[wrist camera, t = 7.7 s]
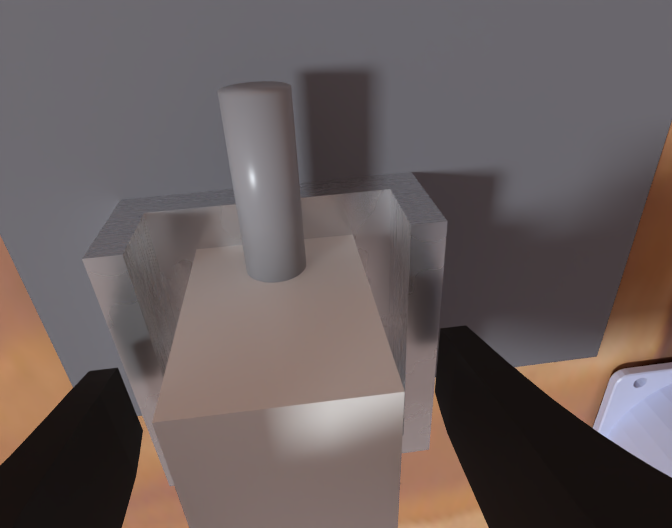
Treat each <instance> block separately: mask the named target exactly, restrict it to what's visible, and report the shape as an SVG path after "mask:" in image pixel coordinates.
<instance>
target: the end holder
mask: <svg viewBox="0 0 672 528" xmlns="http://www.w3.org/2000/svg"><path fill="white" fill-rule="evenodd" d="M299 184H300V196H301V208H302V220H303V231H304V239H311V238H321V237H332V236H343V235H353V237H354V240H355V243H356V246H357V249H358V252H359V255H360V258H361V261H362V264H363V267H364V270H365V273H366V276H367V279H368V282H369V285H370V288H371V291H372V294H373V297H374V300H375V303H376V306H377V310H378V313H379V316H380V319H381V322H382V325H383V328H384V331H385V334H386V337H387V340H388V343H389V346H390V349H391V352H392V355H393V358H394V361H395V364H396V367H397V370H398V373H399V376H400V379H401V382H402V385H403V388H404V391H405V395H404V415H403V434H402V453H408V452H415V451H422V450H429V444H430V431H431V419H432V407H433V394H434V382H435V370H436V357H437V345H438V333H439V320H440V308H441V295H442V283H443V271H444V258H445V246H446V234H447V220H446V218H445V217H444V216H443V214H442V213H441V212H440V210H439V209H438V208H437V206H436V205H435V204H434V202H433V201H432V199H431V198H430V197H429V195H428V194H427V193H426V191H425V190H424V189H423V187H422V186H421V184H420V183H419V182H418V180H417V179H416V178H415V176H414V175H413V174H412V172H407V173H397V174H386V175H375V176H365V177H354V178H344V179H333V180H322V181H312V182H301V183H299ZM236 245H242V239H241V233H240V227H239V221H238V215H237V209H236V202H235V196H234V190H233V189H227V190H217V191H206V192H195V193H185V194H174V195H164V196H153V197H142V198H132V199H121V200H120V201H119V203H118V204H117V206H116V207H115V209H114V210H113V212H112V214H111V215H110V217H109V218H108V220H107V221H106V223H105V224H104V226H103V227H102V229H101V230H100V232H99V234H98V235H97V237H96V238H95V240H94V241H93V243H92V244H91V246H90V247H89V249H88V250H87V252H86V253H85V255H84V257H83V258H82V261H83V263H84V266H85V268H86V271H87V274H88V276H89V279H90V281H91V284H92V286H93V289H94V292H95V294H96V297H97V299H98V302H99V305H100V307H101V310H102V312H103V315H104V317H105V320H106V323H107V325H108V328H109V330H110V333H111V336H112V338H113V341H114V343H115V346H116V348H117V351H118V354H119V356H120V359H121V361H122V364H123V366H124V369H125V372H126V374H127V377H128V379H129V382H130V385H131V387H132V390H133V392H134V395H135V397H136V400H137V403H138V405H139V408H140V410H141V413H142V416H143V418H144V421H145V423H146V426H147V428H148V431H149V434H150V436H151V439H152V441H153V444H154V446H155V449H156V452H157V454H158V457H159V459H160V462H161V465H162V467H163V470H164V472H165V475H166V477H167V480H168V483H169V485H170V486H174V483H173V480H172V477H171V474H170V472H169V469H168V466H167V463H166V460H165V458H164V455H163V452H162V449H161V447H160V444H159V441H158V438H157V435H156V433H155V430H154V427H153V424H152V421H153V417H154V413H155V409H156V405H157V401H158V397H159V394H160V390H161V386H162V382H163V378H164V374H165V370H166V366H167V362H168V359H169V355H170V351H171V347H172V343H173V339H174V335H175V331H176V327H177V323H178V320H179V316H180V312H181V308H182V304H183V300H184V296H185V292H186V288H187V284H188V281H189V277H190V273H191V269H192V265H193V261H194V257H195V253H196V249H204V248H214V247H225V246H236Z"/></svg>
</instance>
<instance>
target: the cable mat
mask: <svg viewBox="0 0 672 528" xmlns="http://www.w3.org/2000/svg"><path fill="white" fill-rule="evenodd" d="M257 81H275V82H284V83H288V84H290V85H291V89H292V101H293V113H294V125H295V136H296V148H297V160H298V172H299V183H301V182H312V181H322V180H333V179H344V178H354V177H365V176H375V175H386V174H397V173H407V172H412V174H413V175H414V176H415V178H416V179H417V180H418V182H419V183H420V184H421V186H422V187H423V189H424V190H425V191H426V193H427V194H428V195H429V197H430V198H431V199H432V201H433V202H434V204H435V205H436V206H437V208H438V209H439V210H440V212H441V213H442V214H443V216H444V217H445V218H446V220H447V234H446V246H445V258H444V271H443V283H442V295H441V308H440V320H439V333H438V345H437V357H436V370H435V377H436V373H437V361H438V349H439V337H440V328H448V327H456V326H464V325H466V326H467V327H469V328H470V329H471V330H472V331H473V332H474V333H476V334H477V335H478V336H479V337H480V338H481V339H482V340H483V341H485V342H486V343H487V344H488V345H489V346H490V347H491V348H492V349H494V350H495V351H496V352H497V353H498V354H499V355H500V356H502V357H503V358H504V359H505V360H506V361H507V362H508V363H510V364H511V365H512V366H513V367H519V366H527V365H535V364H542V363H550V362H558V361H565V360H573V359H581V358H588V357H596V356H597V354H598V351H599V348H600V344H601V341H602V338H603V335H604V332H605V329H606V326H607V322H608V319H609V316H610V313H611V310H612V307H613V304H614V300H615V297H616V294H617V291H618V288H619V285H620V282H621V278H622V275H623V272H624V269H625V266H626V263H627V259H628V256H629V253H630V250H631V247H632V244H633V241H634V237H635V234H636V231H637V228H638V225H639V222H640V219H641V215H642V212H643V209H644V206H645V203H646V200H647V196H648V193H649V190H650V187H651V184H652V181H653V178H654V174H655V171H656V168H657V165H658V162H659V159H660V156H661V152H662V149H663V146H664V143H665V140H666V137H667V134H668V130H669V127H670V124H671V121H672V0H0V235H1V237H2V239H3V241H4V244H5V246H6V248H7V250H8V252H9V254H10V256H11V258H12V260H13V262H14V264H15V267H16V269H17V271H18V273H19V275H20V277H21V279H22V281H23V283H24V285H25V287H26V290H27V292H28V294H29V296H30V298H31V300H32V302H33V304H34V306H35V308H36V310H37V313H38V315H39V317H40V319H41V321H42V323H43V325H44V327H45V329H46V331H47V333H48V336H49V338H50V340H51V342H52V344H53V346H54V348H55V350H56V352H57V354H58V357H59V359H60V361H61V363H62V365H63V367H64V369H65V371H66V373H67V375H68V377H69V380H70V382H71V384H72V386H73V388H74V386H75V385H76V384H77V383H78V382H79V381H80V380H81V379H82V378H83V377H84V376H85V375H86V374H87V373H88V372H89V371H93V370H101V369H110V368H118V369H119V372H120V374H121V377H122V379H123V382H124V384H125V387H126V389H127V392H128V394H129V397H130V399H131V402H132V404H133V407H134V409H135V412H136V414H137V416H142V413H141V410H140V408H139V405H138V403H137V400H136V397H135V395H134V392H133V390H132V387H131V385H130V382H129V379H128V377H127V374H126V372H125V369H124V366H123V364H122V361H121V359H120V356H119V354H118V351H117V348H116V346H115V343H114V341H113V338H112V336H111V333H110V330H109V328H108V325H107V323H106V320H105V317H104V315H103V312H102V310H101V307H100V305H99V302H98V299H97V297H96V294H95V292H94V289H93V286H92V284H91V281H90V279H89V276H88V274H87V271H86V268H85V266H84V263H83V261H82V258H83V257H84V255H85V253H86V252H87V250H88V249H89V247H90V246H91V244H92V243H93V241H94V240H95V238H96V237H97V235H98V234H99V232H100V230H101V229H102V227H103V226H104V224H105V223H106V221H107V220H108V218H109V217H110V215H111V214H112V212H113V210H114V209H115V207H116V206H117V204H118V203H119V201H120V200H121V199H132V198H142V197H153V196H164V195H174V194H185V193H195V192H206V191H217V190H227V189H233V184H232V178H231V172H230V166H229V159H228V153H227V147H226V141H225V135H224V129H223V123H222V116H221V110H220V104H219V98H218V90H219V89H221V88H223V87H225V86H229V85H233V84H238V83H245V82H257Z"/></svg>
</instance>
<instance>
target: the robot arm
mask: <svg viewBox="0 0 672 528" xmlns="http://www.w3.org/2000/svg"><path fill="white" fill-rule="evenodd" d="M435 394H436V397H437V401H438V404H439V407H440V411H441V414H442V417H443V421H444V424H445V427H446V430H447V433H448V435H449V438H450V440H451V443H452V445H453V447H454V449H455V452H456V454H457V456H458V459H459V461H460V463H461V466H462V468H463V470H464V472H465V475H466V477H467V479H468V481H469V484H470V486H471V488H472V490H473V493H474V495H475V497H476V500H477V502H478V504H479V506H480V509H481V511H482V513H483V515H484V518H485V520H486V522H487V524H488V527H489V528H672V362H670V363H662V364H654V365H647V366H639V367H632V368H624V369H621V370H618V371H616V372H615V373H614V374H613V375H612V376H611V378H610V380H609V383H608V386H607V389H606V392H605V394H604V397H603V400H602V403H601V406H600V409H599V412H598V415H597V417H596V420H595V423H594V426H593V428H591V427H590V426H589V425H587V424H586V423H584V422H583V421H581V420H580V419H579V418H577V417H576V416H575V415H573V414H572V413H571V412H569V411H568V410H567V409H565V408H564V407H563V406H561V405H560V404H559V403H557V402H556V401H555V400H553V399H552V398H551V397H549V396H548V395H547V394H546V393H544V392H543V391H542V390H541V389H539V388H538V387H537V386H536V385H535V384H533V383H532V382H531V381H530V380H529V379H527V378H526V377H525V376H524V375H522V374H521V373H520V372H519V371H518V370H517V369H515V368H514V367H513V366H512V365H511V364H510V363H508V362H507V361H506V360H505V359H504V358H503V357H502V356H500V355H499V354H498V353H497V352H496V351H495V350H494V349H492V348H491V347H490V346H489V345H488V344H487V343H486V342H485V341H483V340H482V339H481V338H480V337H479V336H478V335H477V334H476V333H474V332H473V331H472V330H471V329H470V328H469V327H467V326H466V325H464V326H456V327H448V328H440V337H439V349H438V361H437V373H436V386H435ZM142 433H143V430H142V427H141V425H140V422H139V420H138V417H137V414H136V412H135V409H134V407H133V404H132V402H131V399H130V397H129V394H128V392H127V389H126V387H125V384H124V382H123V379H122V377H121V374H120V372H119V369H118V368H110V369H101V370H93V371H89V372H88V373H87V374H86V375H85V376H84V377H83V378H82V379H81V380H80V381H79V382H78V383H77V384H76V385H75V386H74V388H73V389H72V390H71V391H70V392H69V393H68V394H67V395H66V396H65V397H64V399H63V400H62V401H61V402H60V403H59V404H58V405H57V406H56V407H55V408H54V410H53V411H52V412H51V413H50V414H49V415H48V416H47V417H46V418H45V419H44V420H43V421H42V423H41V424H40V425H39V426H38V427H37V428H36V429H35V430H34V431H33V432H32V433H31V434H30V435H29V436H28V437H27V439H26V440H25V441H24V442H23V443H22V444H21V445H20V446H19V447H18V448H17V449H16V450H15V451H14V452H13V453H12V454H11V456H10V457H9V458H7V459H6V460H5V461H4V462H3V463H2V464H1V465H0V528H122V524H123V521H124V517H125V514H126V510H127V507H128V503H129V500H130V496H131V492H132V489H133V485H134V481H135V478H136V473H137V467H138V461H139V455H140V447H141V440H142Z"/></svg>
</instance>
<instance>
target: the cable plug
mask: <svg viewBox="0 0 672 528" xmlns="http://www.w3.org/2000/svg"><path fill="white" fill-rule="evenodd" d="M218 98H219V104H220V110H221V116H222V123H223V129H224V135H225V141H226V147H227V153H228V159H229V166H230V172H231V178H232V184H233V190H234V196H235V202H236V209H237V215H238V221H239V227H240V233H241V239H242V245H236V246H225V247H214V248H204V249H196V253H195V257H194V261H193V265H192V269H191V273H190V277H189V281H188V284H187V288H186V292H185V296H184V300H183V304H182V308H181V312H180V316H179V320H178V323H177V327H176V331H175V335H174V339H173V343H172V347H171V351H170V355H169V359H168V362H167V366H166V370H165V374H164V378H163V382H162V386H161V390H160V394H159V397H158V401H157V405H156V409H155V413H154V417H153V421H152V424H153V427H154V430H155V433H156V435H157V438H158V441H159V444H160V447H161V449H162V452H163V455H164V458H165V460H166V463H167V466H168V469H169V472H170V474H171V477H172V480H173V483H174V486H175V488H176V491H177V494H178V497H179V500H180V502H181V505H182V508H183V511H184V514H185V516H186V519H187V522H188V525H189V528H398V511H399V492H400V472H401V453H402V434H403V415H404V395H405V391H404V388H403V385H402V382H401V379H400V376H399V373H398V370H397V367H396V364H395V361H394V358H393V355H392V352H391V349H390V346H389V343H388V340H387V337H386V334H385V331H384V328H383V325H382V322H381V319H380V316H379V313H378V310H377V306H376V303H375V300H374V297H373V294H372V291H371V288H370V285H369V282H368V279H367V276H366V273H365V270H364V267H363V264H362V261H361V258H360V255H359V252H358V249H357V246H356V243H355V240H354V237H353V235H343V236H332V237H321V238H311V239H304V231H303V220H302V208H301V196H300V184H299V172H298V160H297V148H296V136H295V125H294V113H293V101H292V89H291V85H290V84H288V83H284V82H275V81H257V82H245V83H238V84H233V85H229V86H225V87H223V88H221V89H219V90H218Z"/></svg>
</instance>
